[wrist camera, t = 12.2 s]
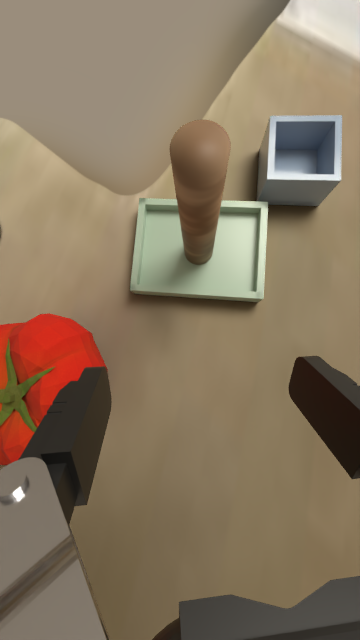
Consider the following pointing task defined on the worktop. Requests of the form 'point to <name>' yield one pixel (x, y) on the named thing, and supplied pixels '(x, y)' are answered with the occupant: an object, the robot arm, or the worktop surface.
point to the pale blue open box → (299, 160)
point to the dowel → (199, 184)
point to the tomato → (37, 374)
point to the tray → (213, 276)
